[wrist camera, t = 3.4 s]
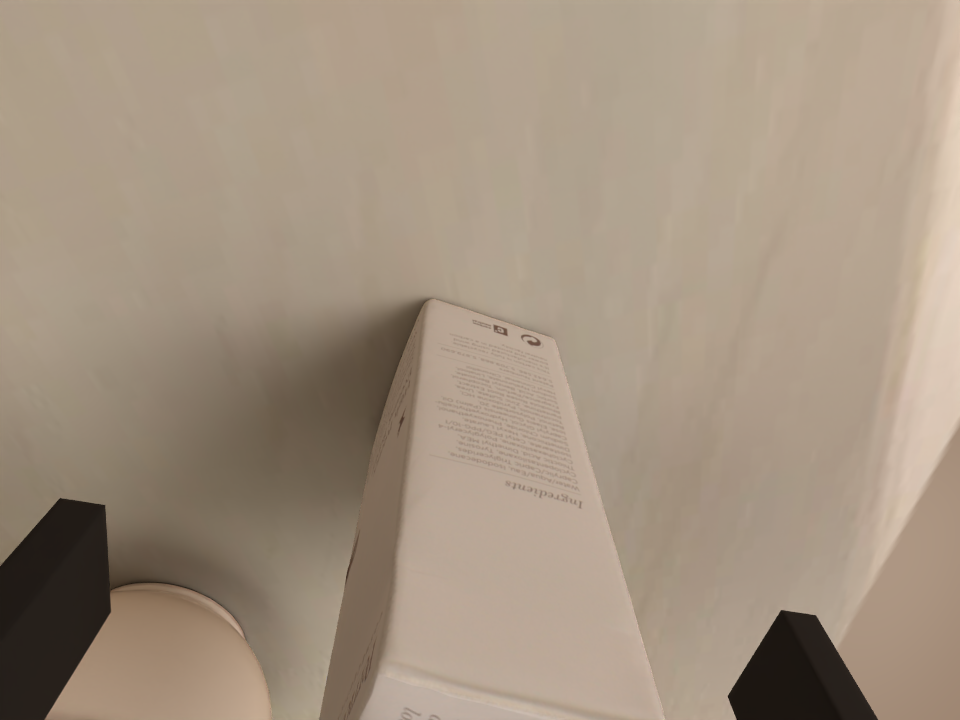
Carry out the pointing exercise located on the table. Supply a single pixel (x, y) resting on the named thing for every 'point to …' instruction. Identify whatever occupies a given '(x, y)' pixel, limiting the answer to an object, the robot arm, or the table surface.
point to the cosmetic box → (484, 546)
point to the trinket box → (166, 662)
